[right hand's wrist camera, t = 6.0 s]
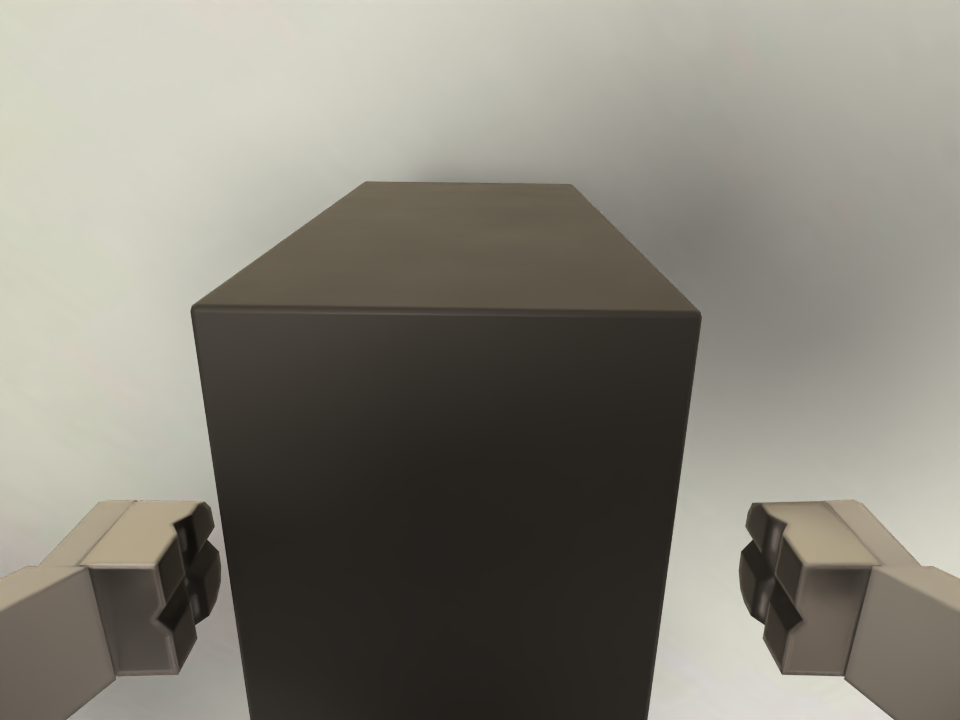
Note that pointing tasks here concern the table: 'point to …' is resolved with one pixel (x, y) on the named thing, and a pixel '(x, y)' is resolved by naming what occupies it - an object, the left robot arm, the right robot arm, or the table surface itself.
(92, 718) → the table surface
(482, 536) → the box
